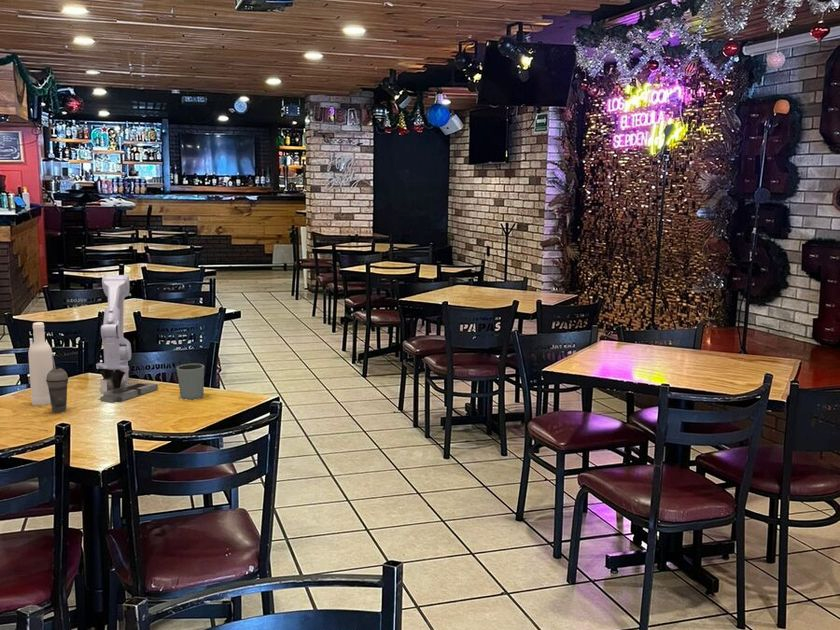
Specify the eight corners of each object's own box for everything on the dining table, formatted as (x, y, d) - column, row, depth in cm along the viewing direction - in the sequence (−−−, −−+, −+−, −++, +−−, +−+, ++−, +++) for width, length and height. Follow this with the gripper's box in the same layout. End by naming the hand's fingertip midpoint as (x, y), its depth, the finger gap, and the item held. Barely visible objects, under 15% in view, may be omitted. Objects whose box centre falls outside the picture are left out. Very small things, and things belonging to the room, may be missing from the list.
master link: (101, 394, 306) (100, 379, 305) (120, 389, 315) (119, 374, 314) (107, 395, 305) (106, 380, 304) (126, 389, 314) (125, 375, 313)
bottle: (26, 404, 292) (21, 323, 287) (45, 399, 299) (40, 320, 294) (41, 407, 288) (35, 325, 283) (60, 402, 295) (55, 322, 290)
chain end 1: (97, 400, 296) (97, 394, 296) (119, 393, 306) (118, 387, 306) (116, 403, 293) (116, 397, 293) (137, 396, 303) (137, 390, 303)
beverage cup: (64, 414, 280) (61, 358, 277) (44, 413, 280) (40, 358, 277) (74, 408, 287) (70, 353, 284) (53, 408, 288) (50, 353, 284)
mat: (97, 400, 298) (97, 399, 298) (137, 387, 317) (137, 386, 317) (120, 403, 294) (120, 402, 294) (159, 390, 313) (159, 389, 313)
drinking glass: (210, 396, 306) (209, 365, 304) (190, 402, 298) (189, 370, 296) (192, 392, 311) (191, 362, 309) (171, 397, 303) (170, 367, 301)
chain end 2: (122, 392, 308) (122, 386, 308) (142, 386, 318) (142, 380, 318) (141, 395, 305) (140, 389, 304) (160, 388, 315) (160, 382, 314)
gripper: (89, 354, 307) (91, 388, 309) (118, 357, 301) (120, 392, 303) (103, 350, 313) (105, 384, 315) (132, 354, 308) (133, 388, 310)
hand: (113, 388), depth 310 cm, fingers closed on master link, 3 cm apart
